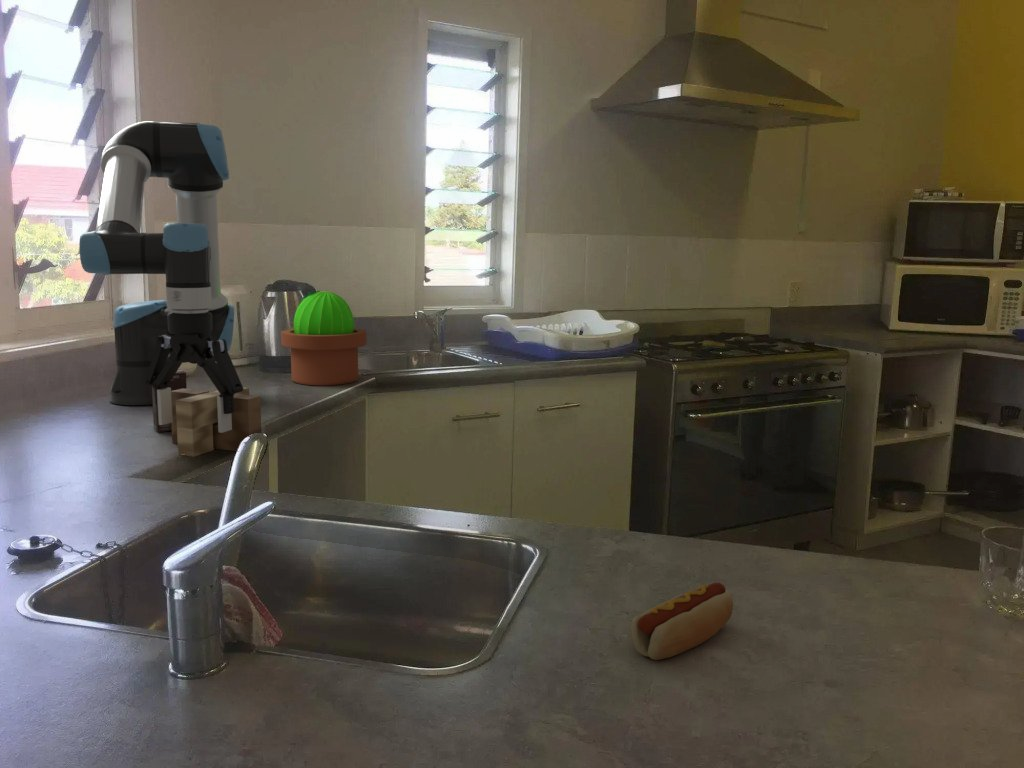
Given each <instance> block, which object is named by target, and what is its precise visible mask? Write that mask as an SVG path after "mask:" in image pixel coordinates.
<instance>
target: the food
mask: <svg viewBox="0 0 1024 768" xmlns="http://www.w3.org/2000/svg"><path fill="white" fill-rule="evenodd" d="M733 609H734V601H733V596H732V593H731V591H726V587H725V585H724V584H722V583H721V582H713V583H710V584H705V583H704V584H701V585H699V586H698V587H696V588H694V589H690V590H688V591H686V592H684V593H681V594H678V595H677V596H676V595H675V596H674V597H672V598H669V599H668V600H665V601H664V602H661V603H659V604H657V605H656V606H654V607H651V608H649V609H647V610H645V611H644V612H642V613H640V614H638V615H636V616H634V617H633V619H632V620H631V622H630V624H629V625H630V628H629V632H630V638H631V641H632V644H633V646H634V647H635V649H636V651H637V652H638V653H639V654H640V655H642V656H644V657H649V659H651V660H655V661H661V660H665V659H668V658H673V657H674V656H676V655H680V654H681V653H684V652H687V651H688V650H691V649H693V648H695V647H697V646H700V645H701V644H703V643H704V642H706V641H708V640H709V639H711V638H712V637H713V636H714V635H716V634H717V633H718V632H719V631H720V630H721V629H722V628H723V627H724V626H725V625H726V624H727V623H728V621H729V620H730V618H731V616H732V613H733Z"/></svg>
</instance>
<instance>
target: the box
mask: <svg viewBox="0 0 1024 768" xmlns="http://www.w3.org/2000/svg"><path fill="white" fill-rule="evenodd" d="M168 384H169V385H170V386H168V387H165V388H171V391H173V390H178V389H183V388H184V389H188V388H187V387H188V386H187V372H186V371H185V370H183V369H179V368H178V370H177V371H176V373H175V374H174V376H173V377H172V379H171V380H170V382H169V383H168ZM152 398H153V404H152V415H153V416H152V417H153V420H152V422H153V430H154V431H155V432H157V433H162V432H172V425H171V423H168V424H164V425H159V419H158V406H156V403H155V390H154V388H153V386H152Z"/></svg>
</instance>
